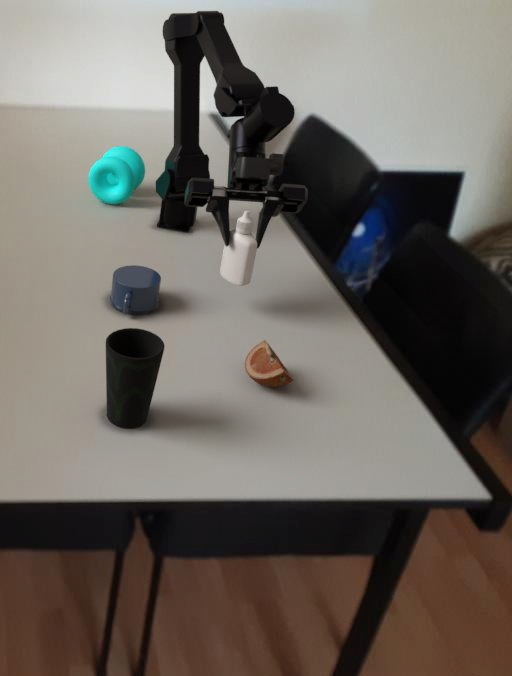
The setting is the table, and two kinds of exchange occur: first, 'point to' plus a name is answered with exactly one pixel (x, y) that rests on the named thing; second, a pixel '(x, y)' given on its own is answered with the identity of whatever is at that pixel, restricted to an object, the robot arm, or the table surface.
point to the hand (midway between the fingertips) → (242, 246)
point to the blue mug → (135, 290)
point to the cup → (131, 375)
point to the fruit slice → (266, 366)
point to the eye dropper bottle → (239, 253)
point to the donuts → (116, 175)
